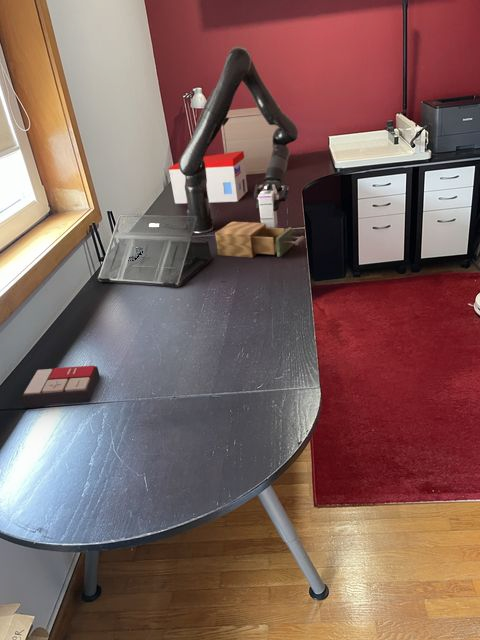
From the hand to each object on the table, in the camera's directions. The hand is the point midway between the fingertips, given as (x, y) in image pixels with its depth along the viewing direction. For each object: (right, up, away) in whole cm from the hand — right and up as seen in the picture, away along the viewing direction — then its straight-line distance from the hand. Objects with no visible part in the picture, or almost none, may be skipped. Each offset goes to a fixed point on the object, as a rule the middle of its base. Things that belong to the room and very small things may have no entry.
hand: (266, 209), depth 197 cm
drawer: (+4, -17, -6) cm, 19 cm away
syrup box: (+1, -6, +6) cm, 9 cm away
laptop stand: (-41, -25, -10) cm, 49 cm away
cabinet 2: (-9, -16, 0) cm, 18 cm away
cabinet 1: (-6, +62, +129) cm, 144 cm away
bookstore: (-29, +28, +76) cm, 86 cm away
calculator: (-49, -65, -74) cm, 110 cm away
